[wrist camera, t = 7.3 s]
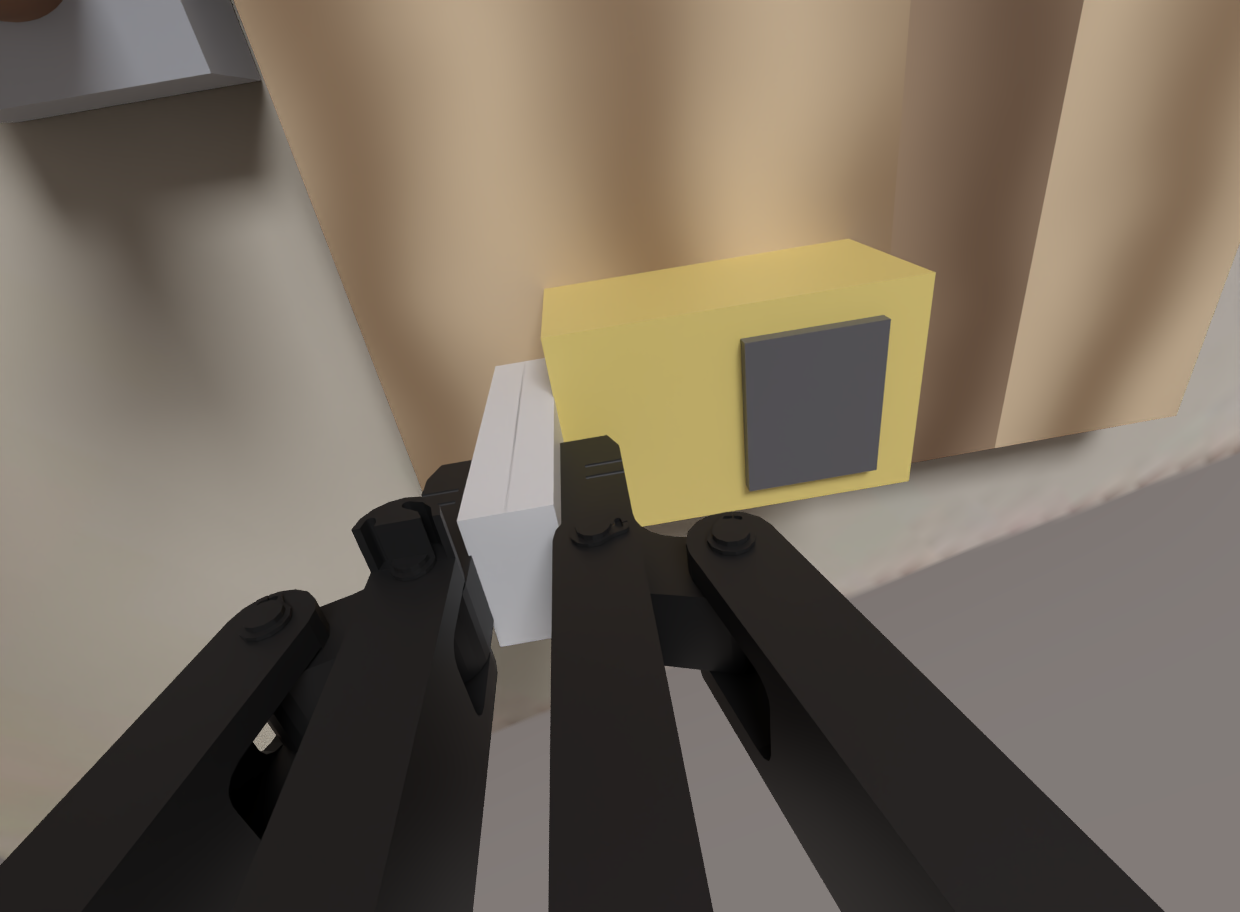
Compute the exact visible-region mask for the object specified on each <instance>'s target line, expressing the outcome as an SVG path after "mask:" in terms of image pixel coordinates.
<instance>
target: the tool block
mask: <svg viewBox="0 0 1240 912" xmlns="http://www.w3.org/2000/svg"><path fill="white" fill-rule="evenodd" d="M255 81H261V79H260V76H259V74H258V71H257V68H256V66H255V63H254V61H253V58H252V56H251V53H250V50H249V48H248V45H247V43H246V40H245V37H244V35H243V32H242V30H241V27H240V25H239V22H238V19H237V17H236V14H235V12H234V9H233V6H232V4H231V1H230V0H63V1H62V2H61V3H60V4H59V6H58V7H57V8H56V9H54V10H53V11H52V12H50V13H49V14H47V15H45V16H43V17H41V18H39V19H35V20H31V21H27V22H4V21H0V122H23V121H29V120H35V119H40V118H46V117H52V116H58V115H64V114H69V113H75V112H81V111H87V110H93V109H98V108H104V107H110V106H116V105H122V104H127V103H133V102H139V101H145V100H151V99H156V98H162V97H168V96H174V95H180V94H185V93H191V92H197V91H203V90H209V89H214V88H220V87H226V86H232V85H238V84H243V83H249V82H255Z"/></svg>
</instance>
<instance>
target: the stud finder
mask: <svg viewBox="0 0 1240 912" xmlns="http://www.w3.org/2000/svg"><path fill="white" fill-rule="evenodd" d="M935 275H936V272H933V271H931V270H928V269H926V268H923V267H920V266H918V265H915V264H913V263H910V262H908V261H905V260H902V259H900V258H897V257H895V256H892V255H890V254H887V253H884V252H882V251H879V250H877V249H874V248H872V247H869V246H866V245H864V244H861V243H859V242H856V241H854V240H851V239H844V240H838V241H832V242H826V243H820V244H814V245H808V246H802V247H795V248H789V249H783V250H777V251H771V252H765V253H759V254H753V255H747V256H741V257H735V258H729V259H723V260H717V261H711V262H705V263H698V264H692V265H686V266H680V267H674V268H668V269H662V270H656V271H650V272H644V273H638V274H632V275H626V276H620V277H614V278H608V279H602V280H595V281H589V282H583V283H577V284H571V285H565V286H559V287H553V288H547V289H544V296H543V311H542V326H541V342H542V347H543V351H544V356H545V361H546V365H547V370H548V375H549V379H550V384H551V389H552V393H553V397H554V399H555V404H556V408H557V413H558V418H559V422H560V427H561V431H562V436H563V441H564V442H569V441H575V440H581V439H586V438H592V437H598V436H604V435H608V436H609V437H610V438H611V439H612V440H614V441H615V442H616V443H617V444H618V445H619V447H620V452H621V457H622V462H623V467H624V472H625V477H626V482H627V487H628V492H629V497H630V502H631V507H632V512H633V515H634V518H635V520H636V521H637V522H638V523H639V524H640V525H641V527H644V526H649V525H655V524H661V523H667V522H673V521H679V520H684V519H690V518H696V517H702V516H708V515H713V514H718V513H723V512H731V511H737V510H743V509H749V508H754V507H760V506H766V505H772V504H778V503H784V502H789V501H795V500H801V499H807V498H813V497H819V496H824V495H830V494H836V493H842V492H848V491H854V490H859V489H865V488H871V487H877V486H883V485H888V484H894V483H900V482H906V481H909V475H910V467H911V460H912V452H913V444H914V437H915V429H916V421H917V413H918V406H919V398H920V390H921V383H922V375H923V367H924V360H925V352H926V344H927V337H928V329H929V321H930V313H931V306H932V298H933V290H934V283H935Z"/></svg>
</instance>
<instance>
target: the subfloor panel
mask: <svg viewBox="0 0 1240 912" xmlns="http://www.w3.org/2000/svg"><path fill="white" fill-rule="evenodd" d="M234 3H235V5H236V8H237V10H238V13H239V16H240V18H241V21H242V23H243V26H244V29H245V31H246V34H247V36H248V39H249V42H250V44H251V47H252V49H253V52H254V55H255V57H256V60H257V62H258V65H259V68H260V70H261V73H262V75H263V78H264V81H265V83H266V86H267V88H268V91H269V94H270V96H271V99H272V101H273V104H274V107H275V109H276V112H277V114H278V117H279V120H280V122H281V125H282V127H283V130H284V133H285V135H286V138H287V140H288V143H289V146H290V148H291V151H292V153H293V156H294V159H295V161H296V164H297V166H298V169H299V172H300V174H301V177H302V179H303V182H304V185H305V187H306V190H307V192H308V195H309V198H310V200H311V203H312V205H313V208H314V211H315V213H316V216H317V218H318V221H319V223H320V226H321V229H322V231H323V234H324V236H325V239H326V242H327V244H328V247H329V249H330V252H331V255H332V257H333V260H334V262H335V265H336V268H337V270H338V273H339V275H340V278H341V281H342V283H343V286H344V288H345V291H346V294H347V296H348V299H349V301H350V304H351V307H352V309H353V312H354V314H355V317H356V320H357V322H358V325H359V327H360V330H361V333H362V335H363V338H364V340H365V343H366V346H367V348H368V351H369V353H370V356H371V359H372V361H373V364H374V366H375V369H376V372H377V374H378V377H379V379H380V382H381V385H382V387H383V390H384V392H385V395H386V398H387V400H388V403H389V405H390V408H391V411H392V413H393V416H394V418H395V421H396V424H397V426H398V429H399V431H400V434H401V437H402V439H403V442H404V444H405V447H406V450H407V452H408V455H409V457H410V460H411V463H412V465H413V468H414V470H415V473H416V476H417V478H418V481H419V483H420V486H421V489H422V491H423V490H424V487H425V484H426V481H427V479H428V478H429V477H430V476H431V475H432V474H433V473H434V472H435V471H436V470H437V469H438V468H439V467H440V466H441V465H445V464H451V463H457V462H463V461H468V460H472V458H473V454H474V450H475V446H476V442H477V438H478V434H479V430H480V426H481V422H482V418H483V414H484V410H485V406H486V402H487V398H488V394H489V390H490V386H491V382H492V378H493V374H494V370H495V366H500V365H506V364H512V363H518V362H524V361H530V360H535V359H541V358H545V356H544V351H543V347H542V342H541V326H542V311H543V296H544V289H547V288H553V287H559V286H565V285H571V284H577V283H583V282H589V281H595V280H602V279H608V278H614V277H620V276H626V275H632V274H638V273H644V272H650V271H656V270H662V269H668V268H674V267H680V266H686V265H692V264H698V263H705V262H711V261H717V260H723V259H729V258H735V257H741V256H747V255H753V254H759V253H765V252H771V251H777V250H783V249H789V248H795V247H802V246H808V245H814V244H820V243H826V242H832V241H838V240H844V239H851V240H854V241H856V242H859V243H861V244H864V245H866V246H869V247H872V248H874V249H877V250H879V251H882V252H884V253H887V254H890V255H892V256H895V257H897V258H900V259H902V260H905V261H908V262H910V263H913V264H915V265H918V266H920V267H923V268H926V269H928V270H931V271H933V272H936V275H935V283H934V290H933V298H932V306H931V313H930V321H929V329H928V337H927V344H926V352H925V360H924V367H923V375H922V383H921V390H920V398H919V406H918V413H917V421H916V429H915V437H914V444H913V452H912V460H911V463H915V462H920V461H926V460H932V459H937V458H943V457H948V456H954V455H959V454H965V453H971V452H976V451H982V450H987V449H993V448H998V447H1004V446H1010V445H1015V444H1021V443H1026V442H1032V441H1037V440H1043V439H1049V438H1054V437H1060V436H1065V435H1071V434H1077V433H1082V432H1088V431H1093V430H1099V429H1104V428H1110V427H1116V426H1121V425H1127V424H1132V423H1138V422H1143V421H1149V420H1155V419H1160V418H1166V417H1171V416H1176V415H1177V412H1178V410H1179V407H1180V404H1181V401H1182V399H1183V396H1184V393H1185V391H1186V388H1187V385H1188V382H1189V380H1190V377H1191V374H1192V372H1193V369H1194V366H1195V363H1196V361H1197V358H1198V355H1199V353H1200V350H1201V347H1202V344H1203V342H1204V339H1205V336H1206V333H1207V331H1208V328H1209V325H1210V323H1211V320H1212V317H1213V314H1214V312H1215V309H1216V306H1217V304H1218V301H1219V298H1220V295H1221V293H1222V290H1223V287H1224V285H1225V282H1226V279H1227V276H1228V274H1229V271H1230V268H1231V266H1232V263H1233V260H1234V257H1235V255H1236V252H1237V249H1238V246H1239V244H1240V0H234Z"/></svg>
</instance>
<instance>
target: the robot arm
mask: <svg viewBox="0 0 1240 912" xmlns="http://www.w3.org/2000/svg"><path fill="white" fill-rule="evenodd" d="M352 532H353V535H354V537H355V539H356V541H357V543H358V545H359V548H360V550H361V552H362V554H363V556H364V558H365V560H366V563H367V565H368V567H369V569H370V571H371V574H370V576H369V579H368V581H367V584H366V586H365V588H364V590H361V591H359V592H357V593H355V594H353V595H350V596H348V597H345V598H342V599H340V600H337V601H335V602H332V603H329V604H327V605H324V606H322V607H319V605H318V603H317V601H316V599H315V598H314V597H313V596H312V595H311V594H310V593H309V592H307V591H302V590H296V589H295V590H288V591H281V592H277V593H274V594H271V595H269V596H265V597H263V598H261V599H259V600H257V601H256V602H254V603H252V604H251V605H249V606H247V607H246V608H244V609H242V610H241V611H240V612H239V613H238V614H237V615H235V616H234V617H233V618H232V619H231V620H230V621H228V623H227V624H226V625H225V626H224V627H223V628H222V629H221V630H220V631H219V632H218V633H217V634H216V635H215V636H214V637H213V639H212V640H211V641H210V642H209V643H208V644H207V645H206V646H205V647H204V648H203V649H202V650H201V651H200V652H199V653H198V655H197V656H196V657H195V658H194V659H193V660H192V661H191V662H190V663H189V664H188V665H187V666H186V667H185V668H184V670H183V671H182V672H181V673H180V674H179V675H178V676H177V677H176V678H175V679H174V680H173V681H172V682H171V683H170V684H169V686H168V687H167V688H166V689H165V690H164V691H163V692H162V693H161V694H160V695H159V696H158V697H157V698H156V699H155V701H154V702H153V703H152V704H151V705H150V706H149V707H148V708H147V709H146V710H145V711H144V712H143V713H142V714H141V715H140V717H139V718H138V719H137V720H136V721H135V722H134V723H133V724H132V725H131V726H130V727H129V728H128V729H127V730H126V732H125V733H124V734H123V735H122V736H121V737H120V738H119V739H118V740H117V741H116V742H115V743H114V744H113V745H112V746H111V748H110V749H109V750H108V751H107V752H106V753H105V754H104V755H103V756H102V757H101V758H100V759H99V760H98V761H97V763H96V764H95V765H94V766H93V767H92V768H91V769H90V770H89V771H88V772H87V773H86V774H85V775H84V776H83V777H82V779H81V780H80V781H79V782H78V783H77V784H76V785H75V786H74V787H73V788H72V789H71V790H70V791H69V792H68V794H67V795H66V796H65V797H64V798H63V799H62V800H61V801H60V802H59V803H58V804H57V805H56V806H55V807H54V808H53V810H52V811H51V812H50V813H49V814H48V815H47V816H46V817H45V818H44V819H43V820H42V821H41V822H40V823H39V825H38V826H37V827H36V828H35V829H34V830H33V831H32V832H31V833H30V834H29V835H28V836H27V837H26V838H25V839H24V841H23V842H22V843H21V844H20V845H19V846H18V847H17V848H16V849H15V850H14V851H13V852H12V853H11V854H10V856H9V857H8V858H7V859H6V860H5V861H4V862H3V863H2V864H1V865H0V912H473V903H474V894H475V884H476V875H477V865H478V855H479V846H480V836H481V827H482V817H483V807H484V797H485V788H486V779H487V768H488V758H489V749H490V740H491V730H492V721H493V711H494V702H495V692H496V682H497V673H498V672H497V665H496V660H495V658H494V655H493V652H492V649H491V639H492V631H493V627H494V630H495V633H496V636H497V638H498V641H499V644H500V647H503V646H509V645H514V644H520V643H526V642H532V641H537V640H543V639H549V638H551V726H550V730H551V732H550V733H551V734H550V819H549V820H550V821H549V822H550V823H549V824H550V825H549V912H713V908H712V903H711V898H710V893H709V888H708V883H707V878H706V873H705V868H704V863H703V858H702V853H701V848H700V842H699V837H698V832H697V827H696V823H695V818H694V813H693V807H692V802H691V797H690V792H689V787H688V783H687V777H686V772H685V768H684V762H683V757H682V752H681V747H680V742H679V737H678V732H677V727H676V722H675V717H674V712H673V707H672V702H671V697H670V692H669V687H668V682H667V677H666V671H665V666H673V667H681V668H690V669H699V670H701V673H702V676H703V678H704V680H705V682H706V683H707V685H708V687H709V688H710V690H711V692H712V694H713V695H714V697H715V699H716V700H717V702H718V704H719V705H720V707H721V709H722V711H723V712H724V714H725V716H726V717H727V719H728V721H729V722H730V724H731V726H732V728H733V729H734V731H735V733H736V734H737V736H738V738H739V739H740V741H741V743H742V744H743V746H744V748H745V750H746V751H747V753H748V754H749V756H750V758H751V760H752V761H753V763H754V765H755V767H756V768H757V770H758V771H759V773H760V775H761V776H762V778H763V780H764V782H765V783H766V785H767V787H768V788H769V790H770V792H771V794H772V795H773V797H774V799H775V800H776V802H777V803H778V805H779V807H780V809H781V811H782V812H783V814H784V815H785V817H786V819H787V821H788V822H789V824H790V826H791V827H792V829H793V831H794V833H795V834H796V836H797V837H798V839H799V841H800V843H801V844H802V846H803V848H804V850H805V851H806V853H807V855H808V856H809V858H810V860H811V861H812V863H813V865H814V866H815V868H816V870H817V872H818V873H819V875H820V877H821V878H822V880H823V882H824V883H825V885H826V887H827V888H828V890H829V892H830V893H831V895H832V897H833V899H834V900H835V902H836V904H837V905H838V907H839V909H840V911H841V912H1164V911H1163V910H1162V909H1161V908H1160V907H1159V906H1158V905H1157V904H1156V903H1155V902H1154V901H1153V900H1152V899H1151V898H1150V897H1149V896H1148V895H1147V894H1146V893H1145V892H1144V891H1143V890H1142V889H1141V888H1140V887H1139V886H1138V885H1137V884H1136V883H1135V882H1134V881H1133V880H1132V879H1131V878H1130V877H1129V876H1128V875H1127V874H1126V873H1125V872H1124V871H1123V870H1122V869H1121V868H1119V866H1118V865H1117V864H1116V863H1114V862H1113V860H1111V859H1110V858H1109V857H1108V856H1107V855H1106V854H1105V853H1104V852H1103V851H1102V850H1101V849H1100V848H1099V847H1098V846H1097V845H1096V844H1095V843H1094V842H1093V841H1092V840H1091V839H1090V838H1089V837H1088V836H1087V835H1086V834H1085V833H1084V832H1083V831H1082V830H1081V829H1080V828H1079V827H1078V826H1077V825H1076V824H1075V823H1074V822H1073V821H1072V820H1071V819H1070V818H1069V817H1068V816H1067V815H1066V814H1065V813H1064V812H1063V811H1062V810H1061V809H1060V808H1059V807H1058V806H1057V805H1056V804H1055V803H1054V802H1053V801H1052V800H1050V798H1049V797H1047V796H1046V795H1045V794H1044V793H1043V792H1042V791H1041V790H1040V789H1039V788H1038V787H1037V786H1036V785H1035V784H1034V783H1033V782H1032V781H1031V780H1030V779H1029V778H1028V777H1027V776H1026V775H1025V774H1024V773H1023V772H1022V771H1021V770H1020V769H1019V768H1018V767H1017V766H1016V765H1015V764H1014V763H1013V762H1012V761H1011V760H1010V759H1009V758H1008V757H1007V756H1006V755H1005V754H1004V753H1003V752H1002V751H1001V750H1000V749H999V748H998V747H997V746H996V745H995V744H994V743H993V742H992V741H991V740H990V739H989V738H987V736H986V735H984V734H983V733H982V732H981V731H980V730H979V729H978V728H977V727H976V726H975V725H974V724H973V723H972V722H971V721H970V720H969V719H968V718H967V717H966V716H965V715H964V714H963V713H962V712H961V711H960V710H959V709H958V708H957V707H956V706H955V705H954V704H953V703H952V702H951V701H950V700H949V699H948V698H947V697H946V696H945V695H944V694H943V693H942V692H941V691H940V690H939V689H938V688H937V687H936V686H935V685H934V684H933V683H932V682H931V681H930V680H929V679H928V678H927V677H926V676H925V675H923V674H922V673H921V672H920V671H919V670H918V669H917V668H916V667H915V666H914V665H913V664H912V663H911V662H910V661H909V660H908V659H907V658H906V657H905V656H904V655H903V654H902V653H901V652H900V651H899V650H898V649H897V648H896V647H895V646H894V645H893V644H892V643H891V642H890V641H889V640H888V639H887V638H886V637H885V636H884V635H883V634H882V633H881V632H880V631H879V630H878V629H877V628H876V627H875V626H874V625H873V624H872V623H871V622H870V621H869V620H868V619H867V618H865V616H864V615H862V613H860V612H859V611H858V610H857V609H856V608H855V607H854V606H853V605H852V604H851V603H850V602H849V601H848V600H847V599H846V598H845V597H844V596H843V595H842V594H841V593H840V592H839V591H838V590H837V589H836V588H835V587H834V586H833V585H832V584H831V583H830V582H829V581H828V580H827V579H826V578H825V577H824V576H823V575H822V574H821V573H820V572H819V571H818V570H817V569H816V568H815V567H814V566H813V565H812V564H811V563H810V562H809V561H808V560H807V559H806V558H805V557H804V556H803V555H802V554H801V553H800V552H799V551H798V550H796V549H795V548H794V547H793V546H792V545H791V544H790V543H789V542H788V541H787V540H786V539H785V538H784V537H783V536H782V535H781V534H780V533H779V532H778V531H777V530H776V529H775V528H774V527H773V526H772V525H771V524H769V523H768V522H766V521H765V520H763V519H762V518H760V517H758V516H754V515H751V514H747V513H744V512H723V513H718V514H713V515H710V516H708V517H706V518H704V519H702V520H700V521H698V522H696V524H695V525H694V526H693V527H692V528H691V529H690V530H689V531H688V534H687V537H672V536H664V535H659V534H656V533H653V532H650V531H648V530H647V529H645V528H643V527H641V525H640V524H639V523H638V522H637V521H636V520H635V518H634V515H633V512H632V507H631V502H630V497H629V492H628V487H627V482H626V477H625V472H624V467H623V462H622V457H621V452H620V447H619V445H618V444H617V443H616V442H615V441H614V440H612V439H611V438H610V437H609V436H608V435H604V436H598V437H592V438H586V439H581V440H575V441H569V442H564V441H563V436H562V431H561V427H560V422H559V418H558V413H557V408H556V404H555V399H554V397H553V393H552V389H551V384H550V379H549V375H548V370H547V365H546V361H545V358H541V359H535V360H530V361H524V362H518V363H512V364H506V365H500V366H495V370H494V374H493V378H492V382H491V386H490V390H489V394H488V398H487V402H486V406H485V410H484V414H483V418H482V422H481V426H480V430H479V434H478V438H477V442H476V446H475V450H474V454H473V458H472V460H468V461H463V462H457V463H451V464H445V465H441V466H440V467H439V468H438V469H437V470H436V471H435V472H434V473H433V474H432V475H431V476H430V477H429V478H428V479H427V481H426V484H425V487H424V490H423V492H422V497H408V498H403V499H399V500H395V501H392V502H388V503H386V504H384V505H382V506H380V507H378V508H376V509H373V510H372V511H371V512H369V513H368V514H366V515H365V516H364V517H362V518H361V519H360V520H359V521H358V522H357V523H356V525H355V526H354V527H353V529H352ZM266 723H268V724H269V725H270V727H271V728H272V730H273V731H274V733H275V734H276V737H275V738H274V739H273V741H272V742H271V743H270V744H269V745H268V746H267V747H266V748H265V749H264V750H263V751H259V750H258V748H257V747H256V746H255V744H254V743H253V741H254V739H255V738H256V737H257V735H258V734H259V732H260V731H261V730H262V728H263V727H264V726H265V724H266Z"/></svg>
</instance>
